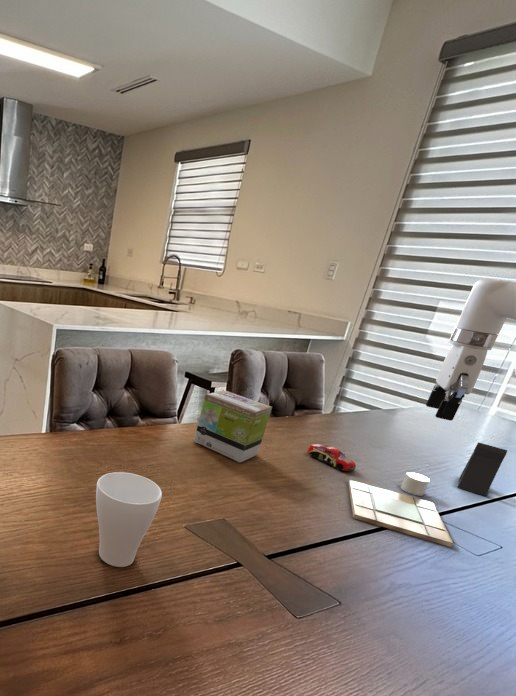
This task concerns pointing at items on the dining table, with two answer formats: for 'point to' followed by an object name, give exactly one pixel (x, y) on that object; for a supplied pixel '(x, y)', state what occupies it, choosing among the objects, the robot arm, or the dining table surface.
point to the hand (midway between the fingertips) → (438, 412)
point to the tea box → (232, 425)
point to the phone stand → (481, 468)
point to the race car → (331, 457)
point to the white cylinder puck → (415, 483)
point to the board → (398, 512)
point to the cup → (124, 514)
